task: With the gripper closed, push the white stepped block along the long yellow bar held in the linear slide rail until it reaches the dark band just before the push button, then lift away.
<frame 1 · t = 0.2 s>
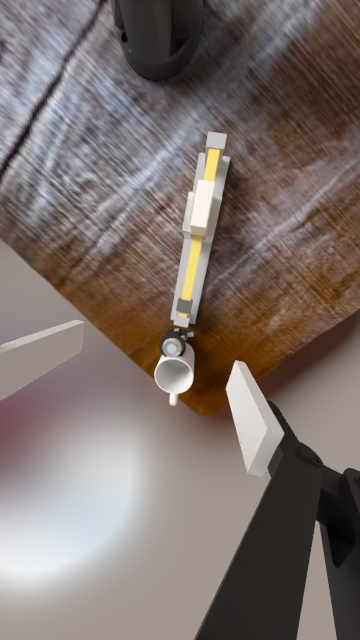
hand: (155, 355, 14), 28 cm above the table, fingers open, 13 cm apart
mug: (178, 361, 45), on the table, touching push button
long yellow bar: (196, 250, 38), resting on linear slide rail
white stepped block: (201, 216, 30), point 7 cm above the table, slide at 0.0 cm
linear slide rail: (196, 248, 38), on the table
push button: (180, 333, 43), on the table, touching mug
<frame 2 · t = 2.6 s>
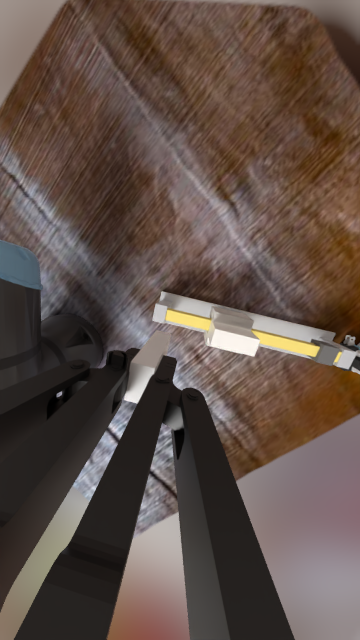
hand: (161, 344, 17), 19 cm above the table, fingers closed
long yellow bar: (243, 326, 34), resting on linear slide rail
white stepped block: (228, 331, 27), point 8 cm above the table, slide at 0.0 cm
linear slide rail: (241, 325, 34), on the table
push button: (342, 350, 34), on the table
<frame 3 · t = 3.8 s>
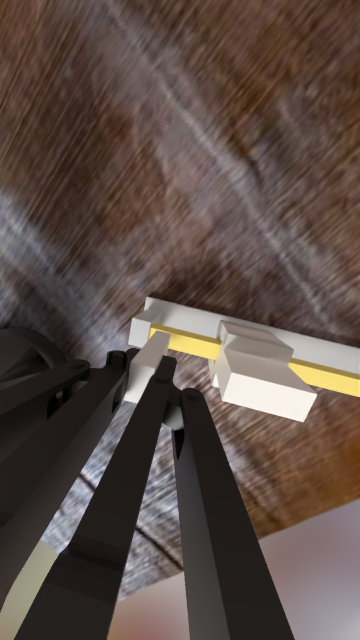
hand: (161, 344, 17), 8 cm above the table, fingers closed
long yellow bar: (264, 346, 24), resting on linear slide rail
white stepped block: (248, 364, 17), point 8 cm above the table, slide at 0.0 cm
linear slide rail: (261, 345, 24), on the table
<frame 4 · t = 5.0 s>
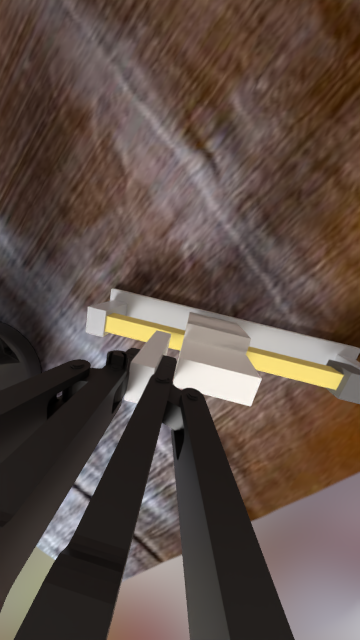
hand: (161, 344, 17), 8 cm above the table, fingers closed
long yellow bar: (229, 337, 24), resting on linear slide rail
white stepped block: (210, 354, 17), point 7 cm above the table, slide at 1.1 cm, touching gripper
linear slide rail: (225, 336, 24), on the table
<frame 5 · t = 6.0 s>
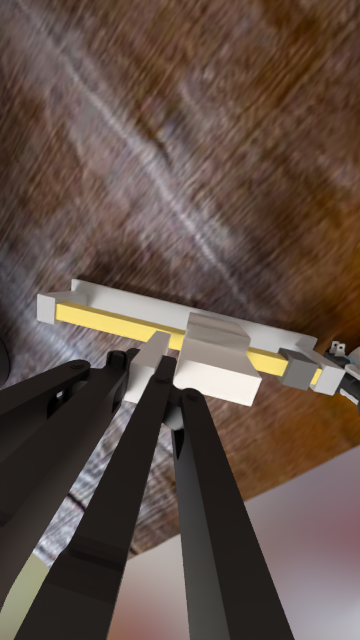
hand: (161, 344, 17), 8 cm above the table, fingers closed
long yellow bar: (190, 327, 24), resting on linear slide rail
white stepped block: (210, 354, 17), point 7 cm above the table, slide at 6.9 cm, touching gripper
linear slide rail: (186, 327, 25), on the table
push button: (328, 361, 24), on the table, touching mug
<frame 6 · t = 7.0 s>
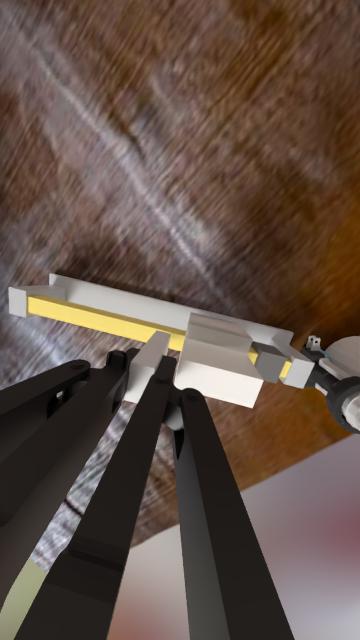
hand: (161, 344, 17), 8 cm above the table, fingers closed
long yellow bar: (168, 322, 24), resting on linear slide rail
white stepped block: (211, 355, 17), point 7 cm above the table, slide at 10.2 cm, touching gripper
linear slide rail: (164, 321, 25), on the table
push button: (306, 356, 24), on the table, touching mug
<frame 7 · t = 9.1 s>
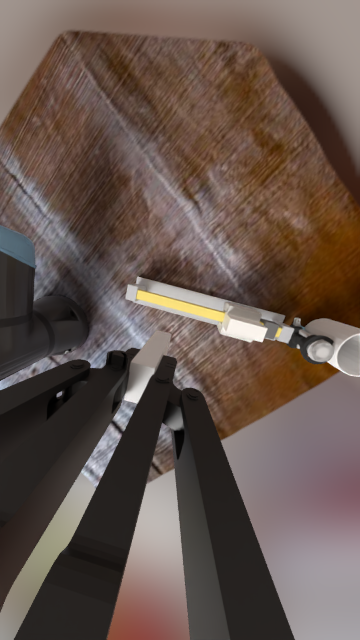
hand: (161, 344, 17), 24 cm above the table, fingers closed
mug: (328, 336, 38), on the table, touching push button
long yellow bar: (207, 308, 40), resting on linear slide rail
white stepped block: (239, 323, 32), point 7 cm above the table, slide at 10.3 cm
linear slide rail: (205, 308, 40), on the table
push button: (293, 331, 39), on the table, touching mug
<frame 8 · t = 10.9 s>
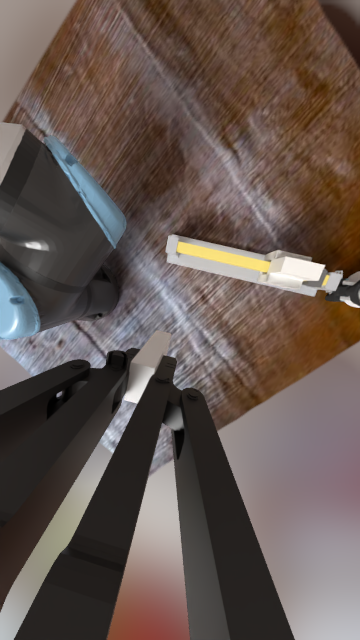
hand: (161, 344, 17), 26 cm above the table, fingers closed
long yellow bar: (244, 266, 39), resting on linear slide rail
white stepped block: (286, 270, 31), point 7 cm above the table, slide at 10.3 cm
linear slide rail: (242, 265, 39), on the table
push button: (332, 286, 38), on the table, touching mug
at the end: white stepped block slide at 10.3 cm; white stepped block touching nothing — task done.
